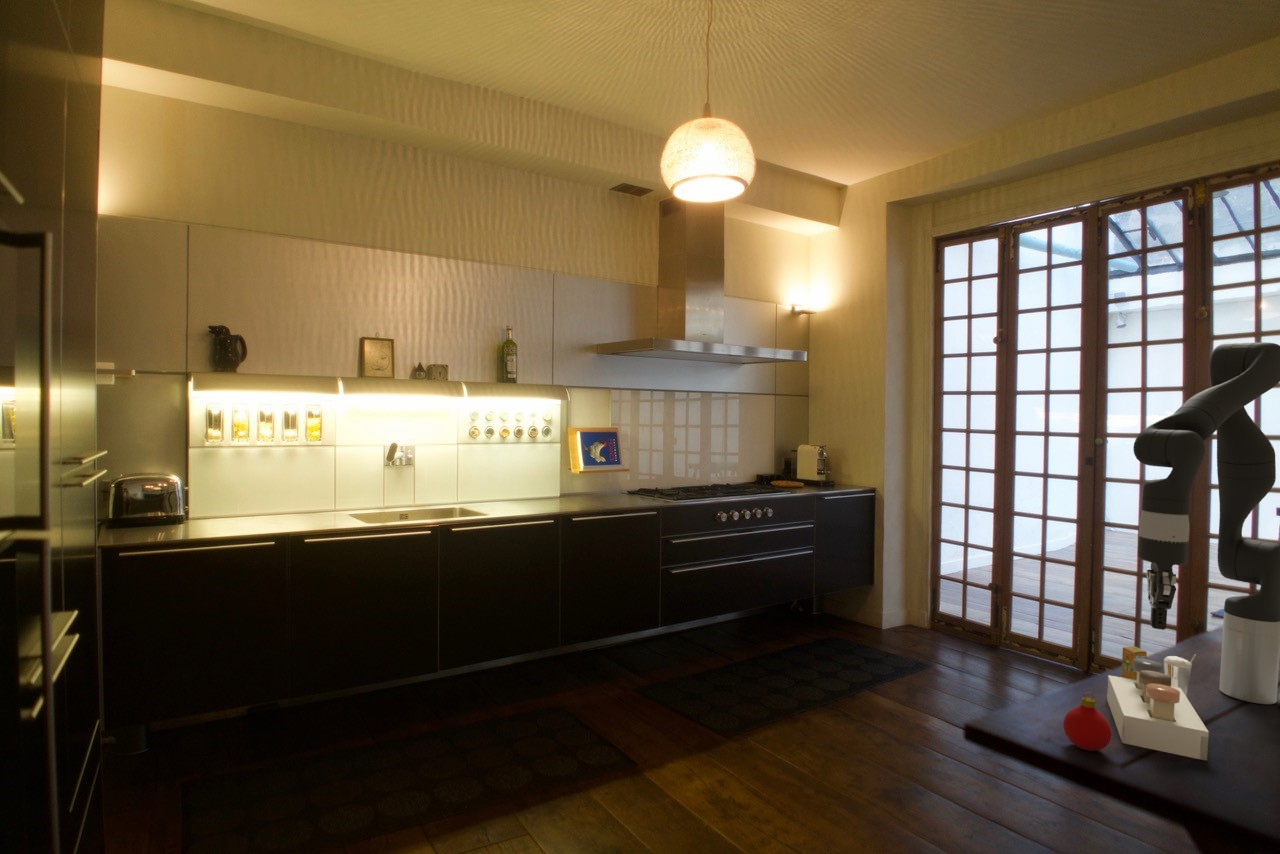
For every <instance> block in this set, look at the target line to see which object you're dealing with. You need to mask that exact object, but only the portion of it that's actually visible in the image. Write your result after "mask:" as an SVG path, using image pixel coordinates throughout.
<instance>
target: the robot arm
mask: <svg viewBox="0 0 1280 854" xmlns="http://www.w3.org/2000/svg"><path fill="white" fill-rule="evenodd" d="M1209 378H1210V385H1211V387H1209V388H1207V389H1204V390H1202V391H1200V392H1197V393H1196V394H1194V395H1192V396H1191V397H1190V398H1189V399H1187V400H1186V401H1185V402H1184V403H1183V404H1182V405H1181V406H1180V407H1179V408H1178V409H1176V411H1175V412H1174V413H1173V414H1171V415H1169V416H1166V417H1164V418H1161V419H1160V420H1157V421H1156V422H1154V423H1152V424H1150V425H1149V426H1147V427H1145V428H1144V429H1143V430H1142V431H1141V432H1140V433H1139V434H1138V435H1137V436H1136V438H1135V441H1134V443H1133V454H1134V457H1135V458H1136V460H1137V461H1139V462H1140V463H1141V464H1143V465H1146V466H1150V467H1160V468H1170V469H1171V471H1170V473H1169V475H1168V476H1167V477H1166V478H1160V479H1156V478H1155V479H1151V480H1147V481H1145V482H1144V484H1143V487H1142V499H1141V500H1142V501H1141V514H1140V518H1139V526H1138V539H1137V540H1138V542H1137V557H1138V559H1140V560H1142V561H1144V562H1147V563H1150V568H1146V578H1147V592H1148V595H1147V599H1148V601H1149V605H1150V607H1151V608H1150V623H1149V624H1150V625H1151V627H1152V629H1156V630H1161V631H1162V630H1166V629H1167V622H1168V621H1167V619H1168V618H1167V617H1168V611H1169V610H1171V608H1172V605H1173V601H1174V598H1175V595H1176V591H1177V587H1176V583H1177V574H1176V573H1174V571H1173V566H1184V565H1186V564H1188V559H1189V558H1188V557H1189V543H1190V542H1189V541H1190V520H1189V511H1190V495H1191V490H1192V488H1193V485H1194V482H1195V480H1196V477H1197V474H1198V472H1199V469H1200V467H1201V465H1202V463H1203V460H1204V458H1205V453H1206V444H1205V441H1206V440H1208V439H1209V438H1210V437H1211V436H1213V434H1214V433H1215V432H1216V467H1217V469H1216V471H1217V472H1216V473H1217V483H1218V484H1217V485H1218V496H1219V497H1218V498H1219V499H1218V500H1219V501H1218V502H1219V519H1218V520H1219V524H1218V538H1217V566H1218V570H1219V573H1220V575H1221V576H1222V577H1223V578H1226V579H1228V580H1232V581H1235V582H1236V581H1237V582H1242V583H1248V584H1253V585H1257V586H1258V585H1259V586H1260V589H1259V591H1258V592H1256V593H1253V594H1249V595H1237V596H1230V597H1227V598H1226V599H1225V601H1224V606H1223V610H1224V611H1223V623H1222V624H1223V625H1222V627H1223V628H1222V640H1221V656H1220V671H1219V688H1218V689H1219V691H1220V692H1222V693H1223V694H1225V695H1226V696H1228V697H1231V698H1234V699H1236V700H1240V701H1244V702H1249V703H1254V704H1258V705H1259V704H1260V705H1274V704H1276V703H1277V699H1278V684H1279V671H1280V670H1279V669H1280V543H1277V542H1273V541H1272V542H1270V541H1264V540H1258V539H1250V538H1244V537H1243V535H1242V533H1243V527H1244V523H1245V521H1246V520H1247V518H1248V516H1249V515H1250V514H1251V512H1252V511H1253V510H1254V508H1255V507H1257V506H1258V504H1259V503H1260V502H1262V500H1263V499H1264V498H1265V497H1267V495H1268V494H1269V493H1270V492H1271V490H1272V488H1273V487H1274V485H1275V483H1276V480H1277V477H1276V476H1277V473H1276V472H1277V471H1276V451H1275V448H1274V447H1273V444H1272V443H1271V441H1270V440H1269V438H1268V437H1267V436H1266V435H1265V433H1264V432H1263V430H1261V429H1260V427H1259V426H1258V425H1257V424H1256V423H1255V421H1254V420H1253V419H1252V418H1251V416H1250V415H1249V413H1248V411H1247V410H1246V408H1245V407H1246V406H1247V405H1248V404H1250V403H1252V402H1253V401H1255V400H1256V399H1257V398H1259V397H1261V396H1263V394H1266V393H1267V392H1269V391H1270V390H1272V389H1273V388H1275V387H1276V386H1277V385H1278V384H1279V383H1280V345H1279V344H1277V343H1273V342H1239V343H1238V342H1233V343H1231V342H1230V343H1229V342H1228V343H1221V344H1219V345H1217V346H1216V347H1215V348H1214V349H1213V350H1212V352H1211V355H1210V359H1209Z"/></svg>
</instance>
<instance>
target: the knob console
mask: <svg viewBox="0 0 1280 854" xmlns="http://www.w3.org/2000/svg"><path fill="white" fill-rule="evenodd" d="M1171 687H1172V688H1175V689H1177V690H1178V691H1179V692H1180V700H1179V703H1175V706H1174V722H1171V721H1166V720H1161V719H1156V718H1151V717H1150V716H1149V714H1150V703H1145V702H1143V701H1142V699H1143V690H1142V689H1137V688H1136V680H1133V679H1127V678H1122V676H1116V675H1109V674H1108V675H1107V690H1106V692H1107V693H1106V700H1107V704H1108V707H1109V709H1110V711H1111V715H1112V717H1113V721H1114V724H1115V726H1116V729H1117V732H1118V735H1119V737H1120V740H1121V743H1122V744H1125V745H1129V746H1130V745H1131V746H1135V747H1139V748H1145V749H1149V750H1153V751H1154V750H1155V751H1159V752H1164V753H1168V754H1173V755H1177V756H1183V757H1187V758H1191V759H1197V760H1200V761H1201V760H1202V761H1206V762H1207V761H1208V749H1209V747H1208V746H1209V733H1210V732H1209V730H1208V729H1207V727H1206V726H1205V724H1204V722H1203V721H1202V719H1201V717H1200V716H1199V714H1198V713H1197V711H1196V710H1195V708H1194V707H1193V705H1192V704H1191V701H1190V700H1189V699H1188V697H1187V696H1185V694H1184V693H1183V691H1182V689H1181V688H1179V687H1173V686H1171Z"/></svg>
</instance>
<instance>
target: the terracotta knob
mask: <svg viewBox="0 0 1280 854" xmlns="http://www.w3.org/2000/svg"><path fill="white" fill-rule="evenodd" d="M1146 695H1147V696H1148V697H1150V714H1149V716H1150V717H1151V718H1156V719H1161V720H1166V721H1171V722H1174V706H1175V703H1179V700H1180V692H1179V691H1178V690H1177V689H1175V688H1172V687H1169V686H1166V685H1161V684H1147V685H1146Z"/></svg>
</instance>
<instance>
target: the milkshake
mask: <svg viewBox="0 0 1280 854" xmlns="http://www.w3.org/2000/svg"><path fill="white" fill-rule="evenodd" d="M1195 658H1196V654H1194V655H1193V656H1192V657H1191V660H1190V661H1189V660H1187V659H1185V658H1184V657H1181V656H1180V657H1179V656H1176V655H1169V656H1168V655H1167V656H1166V657H1164V658H1163V670H1164V674H1165V675H1168V676H1169V677H1171V686H1173V687H1179V688H1181V689H1182V691H1183V693H1184V694H1185V696H1186V697H1187V695H1188V690H1189V683H1190V676H1191V671H1192V665H1193V664H1192V662H1193V661H1194V660H1195Z"/></svg>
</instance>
